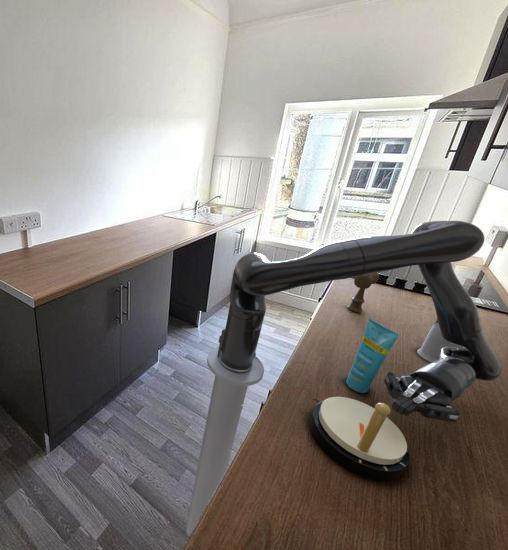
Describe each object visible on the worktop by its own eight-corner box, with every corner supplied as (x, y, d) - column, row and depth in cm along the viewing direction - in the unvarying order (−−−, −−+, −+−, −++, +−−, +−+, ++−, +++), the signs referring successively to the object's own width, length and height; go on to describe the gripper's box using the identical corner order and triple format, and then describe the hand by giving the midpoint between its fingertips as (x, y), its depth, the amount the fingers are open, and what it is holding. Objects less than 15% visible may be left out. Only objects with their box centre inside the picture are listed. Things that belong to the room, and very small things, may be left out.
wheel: (320, 391, 72) (337, 348, 66) (398, 422, 64) (423, 376, 59) (315, 437, 60) (335, 389, 55) (410, 481, 53) (443, 430, 47)
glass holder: (410, 351, 95) (431, 311, 89) (437, 344, 99) (458, 305, 93) (443, 369, 87) (468, 326, 81) (471, 360, 92) (496, 319, 86)
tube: (337, 378, 81) (362, 318, 73) (350, 375, 83) (375, 316, 75) (364, 398, 75) (393, 335, 67) (377, 394, 76) (407, 332, 69)
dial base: (292, 424, 66) (296, 414, 65) (337, 399, 74) (341, 390, 73) (375, 498, 53) (382, 487, 52) (419, 458, 60) (426, 448, 59)
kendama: (366, 309, 120) (385, 263, 112) (358, 316, 114) (378, 269, 106) (349, 303, 124) (366, 259, 116) (341, 310, 118) (358, 263, 110)
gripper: (408, 351, 69) (368, 372, 61) (488, 390, 58) (451, 422, 51) (396, 376, 72) (356, 399, 64) (469, 417, 61) (432, 451, 54)
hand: (398, 409), depth 58 cm, fingers closed
